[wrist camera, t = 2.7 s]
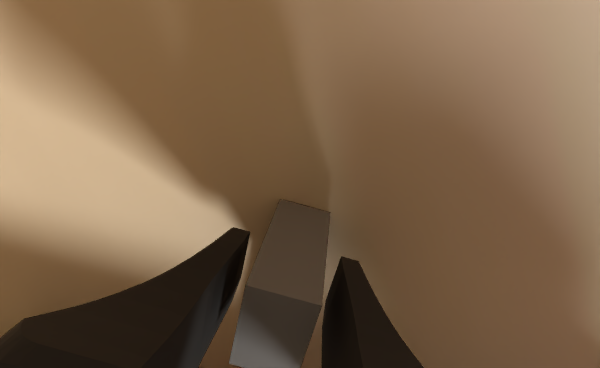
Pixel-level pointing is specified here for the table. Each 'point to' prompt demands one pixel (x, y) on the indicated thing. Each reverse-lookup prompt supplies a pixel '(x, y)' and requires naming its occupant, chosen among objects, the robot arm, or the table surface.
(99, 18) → the table surface
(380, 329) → the robot arm
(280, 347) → the orange and grey rod
